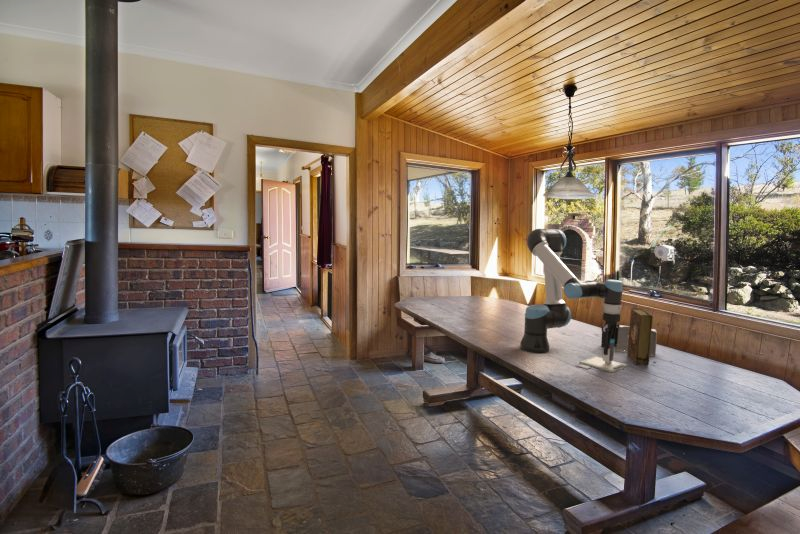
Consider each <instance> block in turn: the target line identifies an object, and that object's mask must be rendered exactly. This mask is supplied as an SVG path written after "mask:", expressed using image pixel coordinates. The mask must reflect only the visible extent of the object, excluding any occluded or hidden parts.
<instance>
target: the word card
mask: <svg viewBox="0 0 800 534" xmlns="http://www.w3.org/2000/svg"><path fill="white" fill-rule="evenodd" d="M575 367H578V368H582V369H584V368H585V369H586V370H589V368H590V369H592V368H593V367H591V366H588V365H584V364H581V363H578V364H575Z"/></svg>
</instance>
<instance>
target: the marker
mask: <svg viewBox="0 0 800 534" xmlns="http://www.w3.org/2000/svg"><path fill="white" fill-rule="evenodd" d="M614 342H615V339H612V338H611V339H610V345H609V348H610V356H609V362H606V361H605V364H612V361H614V360H613V354H614V355H615V351H614Z"/></svg>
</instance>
